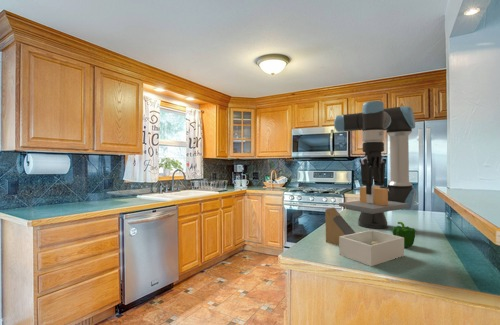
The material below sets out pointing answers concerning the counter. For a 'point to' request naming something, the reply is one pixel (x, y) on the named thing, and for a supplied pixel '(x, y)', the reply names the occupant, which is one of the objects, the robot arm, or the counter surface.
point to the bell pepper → (405, 234)
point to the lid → (379, 202)
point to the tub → (371, 247)
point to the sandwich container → (335, 226)
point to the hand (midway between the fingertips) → (373, 202)
